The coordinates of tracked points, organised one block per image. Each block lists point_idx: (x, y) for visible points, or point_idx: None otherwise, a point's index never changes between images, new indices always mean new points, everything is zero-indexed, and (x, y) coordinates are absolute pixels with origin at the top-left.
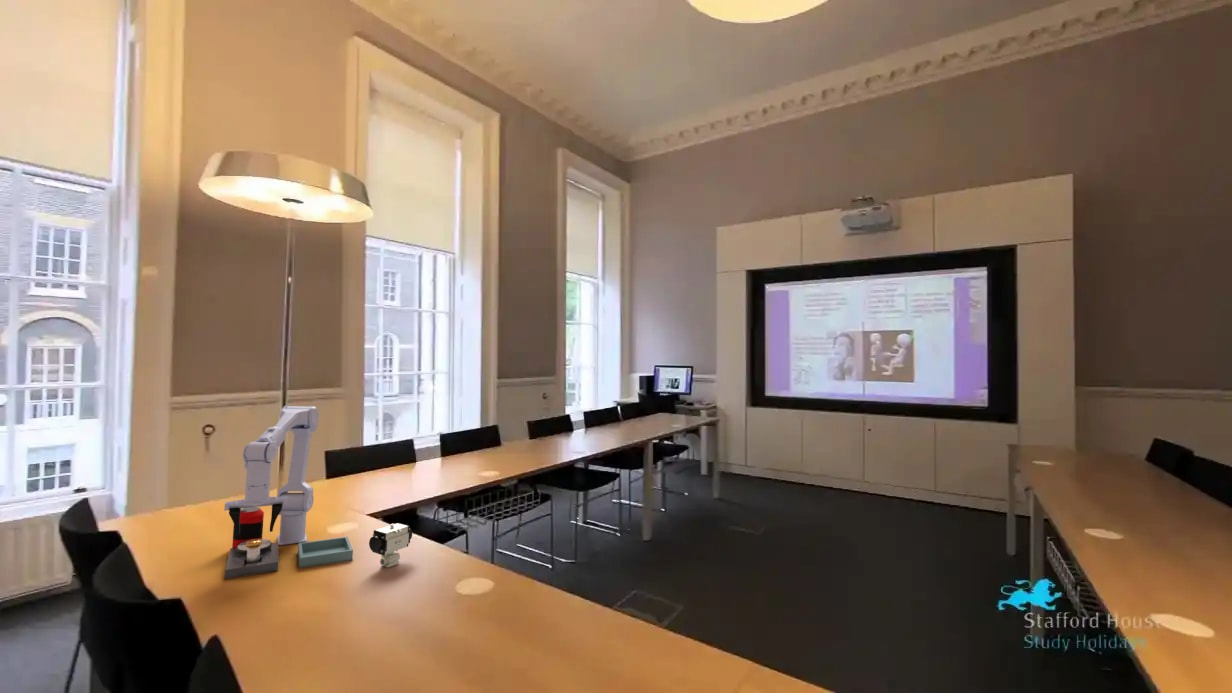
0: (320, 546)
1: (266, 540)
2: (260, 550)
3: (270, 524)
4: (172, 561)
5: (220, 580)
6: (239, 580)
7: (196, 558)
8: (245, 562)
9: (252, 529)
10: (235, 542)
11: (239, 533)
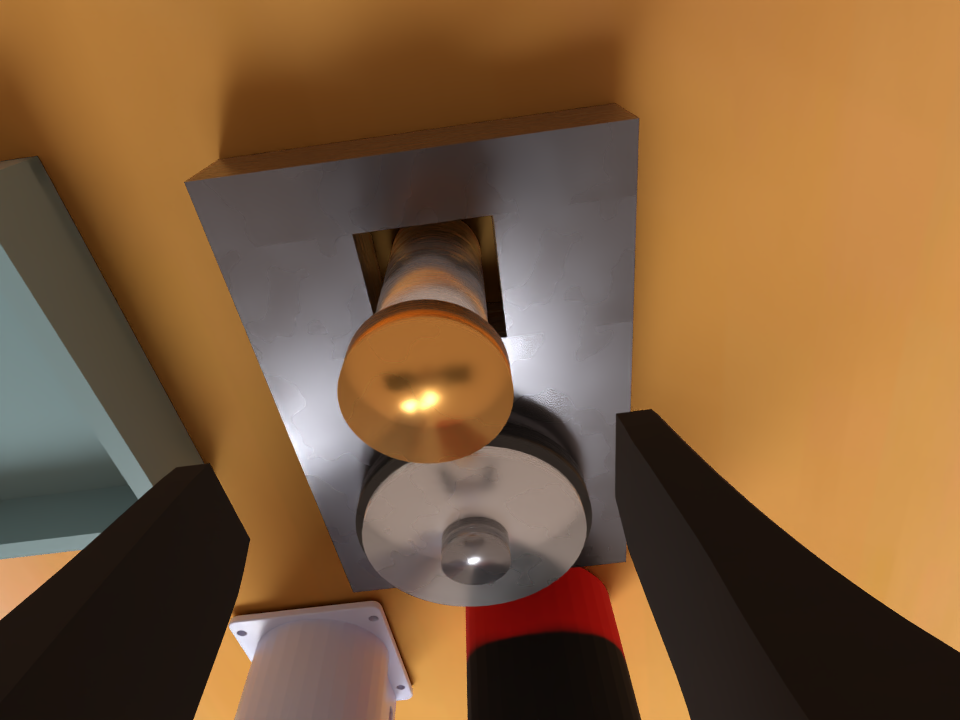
0: (51, 507)
1: (404, 577)
2: None
3: (159, 573)
4: (884, 526)
5: (645, 87)
6: (492, 20)
7: None
8: (498, 326)
9: (522, 704)
10: (604, 622)
11: (624, 434)
